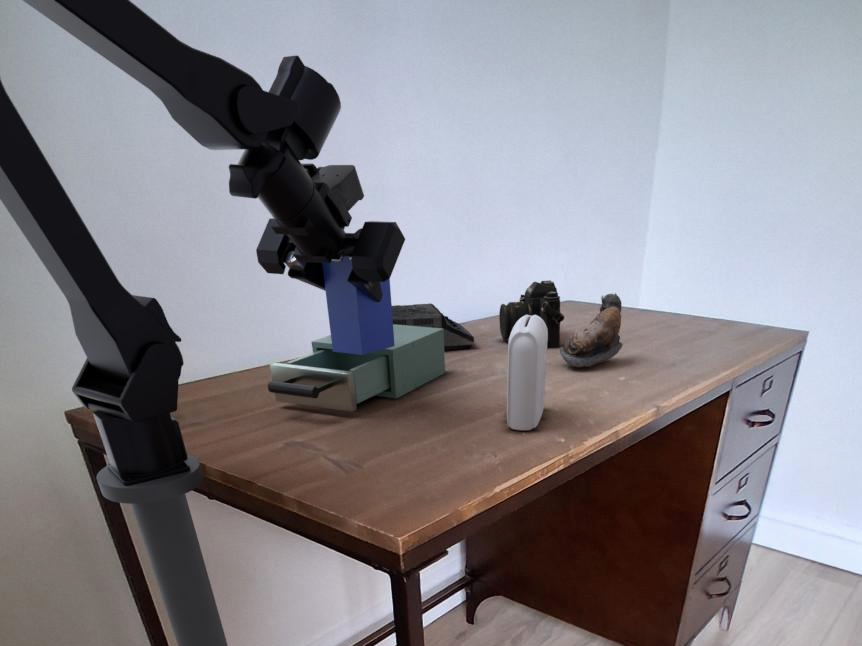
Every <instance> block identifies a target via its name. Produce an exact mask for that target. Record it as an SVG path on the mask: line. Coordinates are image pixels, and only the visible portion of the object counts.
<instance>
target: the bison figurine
mask: <svg viewBox="0 0 862 646" xmlns="http://www.w3.org/2000/svg"><path fill="white" fill-rule="evenodd" d="M600 299H601V306H600V308H599V313H597V314H596V316H595V318H593V320H591V321H590V323H589V324H588V325H587V326H586V327H585V328H584V329H583V331H581V330H580V329H575V330H574V331H573V332H572V334H571V335H570V337H569V338H568V339H567V340H566V342H563V345H562V346H561V347H560V348H559V352H560V355H561V357H562V359H563V361H565V362H566V364H568V365H569V366H571V367H573V368H577V369H578V368H579V369H581V368H589V367H592V366H596V365H599V364H601V363H603V362H606V361H609V360H610V359H611V358H613V357H615V356H616V355H617V354H618V353H619V352H620V351H621V349H622V348H623V346H624V345H623V344H624V343H622V342H620V340H621V336H620V335H619V334H620V329H621V326H622V300H621V298H620V297H619V295H618V294H617V292H614V293H607V294H605V295H604V294H602V295H601V297H600Z"/></svg>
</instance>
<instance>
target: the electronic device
mask: <svg viewBox="0 0 862 646" xmlns="http://www.w3.org/2000/svg"><path fill="white" fill-rule="evenodd" d="M392 317H393V324H395V325H407V326H418V327H430V328H442V329H444V352H445V351H449V350H460V349H469V348H471V347H472V346H473V345H474V344H475V337H474V336H473V335H472V334H471V332H470V331H468V329H466V328H465V327H464V326H463V325H462V324H461V323H458V322H456V321H454V320H453V319H451V318H449V316H447V315H445V314H444V313H442V312H441V311H440V309H439V308H437V307H436V306H435V305H434V304H433V303H432V302H431V303H429V302H428V303H417V304H416V303H415V304H407V305H406V304H404V305H400V304H398V305H392Z"/></svg>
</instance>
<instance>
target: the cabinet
mask: <svg viewBox="0 0 862 646" xmlns="http://www.w3.org/2000/svg"><path fill="white" fill-rule="evenodd" d="M393 331H394V344H395V346H393V347H390V348H386V349H383V350H379V351H376V352H372V354H382V355H388V357H389V370H390V382H391V387H390V388H388V389H386V390H384V391H382V392H380V393H378V394H376V395H374V396H375V397H380V398H381V397H382V398H388V399H399V398H400V397H402V396H404V395H406V394H408V393H410V392H412V391H414V390H416V389H417V388H419V387H421V386H423V385H425V384H427V383H429V382H430V381H433V380H435V379H437V378H438V377H441V376H443V375H445V374H446V364H445V363H446V359H445V351H444V329H442V328H430V327H418V326H407V325H395V324H393ZM311 349H312V353H314V352H317V351H320V350H323V349H332V340H331V334H330V335H326V336H323V337H321V338H318V339H315V340H312V341H311ZM374 396H373V397H374Z"/></svg>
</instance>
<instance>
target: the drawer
mask: <svg viewBox="0 0 862 646" xmlns="http://www.w3.org/2000/svg"><path fill="white" fill-rule="evenodd" d="M269 369H270V375H271V380H270V381H269V382H268V384H267V391H268V392H269V393H272V394H274V397H275V401H276V402H279V403H287V404H293V405H301V406H306V407H307V406H308V407H314V408H315V407H316V408H322V409H329V410H336V411H342V412H343V411H344V412H351V413H352V412H355V411H356V410H358V408H357V404H360V403H362V402H364V401H366V400H368V399H370V398H372V397H374V395H376V394H378V393H380V392H382V391H384V390H386V389H388V388H390V387H391V382H390V370H389V357H388V355H382V354H372V353H369V354H365V355H357V354H348V353H339V352H333V349H323V350H320V351H317V352H314V353H313V352H311V353H309V354H306V355H303V356H301V357H298V358H295V359H292V360H289V361H287V362H285V363H282V362H281V363H280V362H273V363H271V364H269Z"/></svg>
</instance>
